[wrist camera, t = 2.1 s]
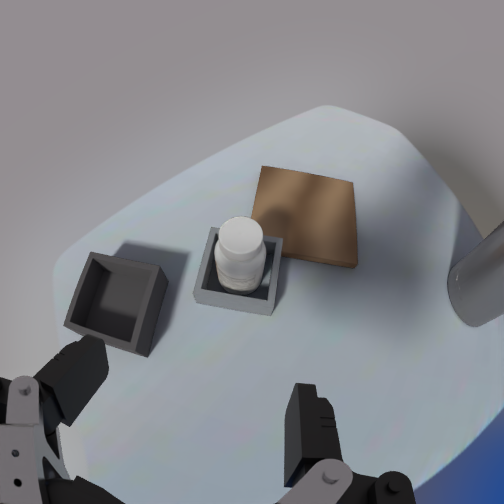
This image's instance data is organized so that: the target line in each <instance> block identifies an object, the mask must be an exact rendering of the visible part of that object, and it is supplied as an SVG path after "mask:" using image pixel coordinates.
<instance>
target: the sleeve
mask: <svg viewBox="0 0 504 504" xmlns="http://www.w3.org/2000/svg"><path fill="white" fill-rule="evenodd" d="M219 230H220V228H215V227H211V229H210V233H209V236H208V240H207V243H206V247H205V250H204V254H203V257H202V261H201V265H200V268H199V272H198V276H197V279H196V283H195V287H194V291H193V295H194V298H195V300H196V303H200V304H205V305H210V306H216V307H221V308H226V309H232V310H238V311H243V312H249V313H255V314H261V315H267V316H271V314H272V311H273V308H274V302H275V295H276V288H277V281H278V273H279V266H280V258H281V250H282V242H283V238H278V237H272V236H265V235H263V242H264V244H265V247H266V254H271V255H273V261H272V268H271V275H270V282H269V288H268V295H267V300H261V299H255V298H249V297H244V296H238V295H232V294H227V293H221V292H216V291H210V290H206V288H207V284H208V280H209V276H210V272H211V268H212V264H213V260H214V256H215V254H214V251H215V246H216V243H217V241H218V240H219Z"/></svg>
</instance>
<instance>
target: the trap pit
mask: <svg viewBox="0 0 504 504" xmlns="http://www.w3.org/2000/svg"><path fill="white" fill-rule="evenodd" d="M167 284H168V280H167V278H166V276H165V274H164V273H163V271H162V269H161V267H160V266H157V265H152V264H147V263H142V262H137V261H132V260H128V259H123V258H118V257H113V256H108V255H104V254H99V253H95V252H90V254H89V257H88V259H87V261H86V264H85V266H84V269H83V271H82V274H81V276H80V279H79V281H78V284H77V287H76V289H75V292H74V295H73V298H72V301H71V304H70V307H69V309H68V313H67V316H66V319H65V322H64V325H63V326H65V327H67V328H68V329H70V330H72V331H74V332H76V333H78V334H80V335H82V336H85V335H86V334H90V335H93V336H95V337H98V338H101V339H103V340H104V342H105V344H107V345H110V346H113V347H115V348H118V349H122V350H125V351H128V352H131V353H134V354H137V355H141V356H144V357H148V354H149V350H150V346H151V342H152V338H153V334H154V330H155V327H156V323H157V319H158V316H159V312H160V308H161V305H162V301H163V298H164V295H165V291H166V288H167Z"/></svg>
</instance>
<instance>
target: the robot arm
mask: <svg viewBox="0 0 504 504" xmlns="http://www.w3.org/2000/svg"><path fill="white" fill-rule="evenodd" d="M448 292H449V297H450V300H451V303H452V306H453V308H454V310H455V312H456V313H457V315H458V316H459V317H460V318H461V320H462V321H463V322H465V323H466V324H468V325H470V326H473V327H478V326H481V325H483V324H485V323H487V322H489V321H491V320H493V319H495V318H497V317H499V316H501V315H503V314H504V221H503V222H502V223H501V224H500V225H499V226H498V227H497V228H496V229H495V230H494V231H493V232H492V233H491V234H490V235H488V236H487V237H486V238H485V239H484V240H483V241H482V242H481V243H480V244H479V245H478V246H477V247H475V248H474V249H473V250H472V251H471V252H470V253H469V254H467V255H466V256H465V257H464V258H463V259H462V260H460V261H459V262H458V263H457V264H456V265H455V266H454V267H453V268H452V269H451V271H450V274H449V277H448ZM108 371H109V365H108V359H107V353H106V347H105V342H104V340H103V339H101V338H98V337H95V336H93V335H90V334H86V335H85V336H84V337H83V338H82V339H81V340H80V341H78V342H77V341H75V342H73V343H71V344H68V345H66V346H65V347H64V348H63V349H62V350H61V351H60V352H59V354H57V355H55V356H54V359H51V360H50V361H49V362H48V363H47V364H46V365H45V366H44V367H43V368H42V369H41V370H40V371H39V372H38V373H37V374H36V375H35V376H34V377H30V376H20V377H17V378H16V379H14V380H13V381H11V380H8V379H5V378H1V377H0V504H125V503H123V502H122V501H120V500H119V499H117V498H116V497H114V496H113V495H112V494H110V493H109V492H107V491H106V490H105V489H103V488H101V487H99V486H97V485H95V484H93V483H91V482H89V481H87V480H85V479H83V478H81V477H79V476H76V478H75V479H74V480H70V477H69V474H68V472H67V470H66V468H65V465H64V460H63V455H62V448H61V441H60V433H59V428H58V425H59V424H60V422H62V423H64V424H65V425H67V426H69V427H70V426H71V425H72V423H73V422H74V421H75V419H76V418H77V417H78V415H79V414H80V413H81V411H82V410H83V408H84V407H85V406H86V404H87V403H88V402H89V400H90V399H91V398H92V396H93V395H94V394H95V393H96V391H97V390H98V389H99V387H100V386H101V385H102V383H103V382H104V381H105V379H106V378H107V375H108ZM284 487H290V488H292V489H291V490H290V491H289V492H288V493H287V494H286V495H284V496H283V497H282V498H281V499H280V500H279V501H278V502H277V503H275V504H416V502H415V497H414V493H413V488H412V484H411V481H410V480H409V478H408V477H407V476H406V475H404V474H403V473H400V472H396V471H390V472H386V473H384V474H382V475H381V476H380V477H379V478H376V477H371V476H365V475H360V474H357V473H355V472H353V471H351V469H350V467H349V466H348V465H347V464H345V463H344V462H343V459H342V455H341V449H340V443H339V437H338V432H337V428H336V421H335V415H334V410H333V407H332V405H331V404H330V403H329V401H328V400H327V398H319V397H317V391H316V386H315V385H314V384H304V383H296V384H295V386H294V389H293V392H292V395H291V398H290V401H289V403H288V406H287V409H286V414H285V456H284Z"/></svg>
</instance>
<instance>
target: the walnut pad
mask: <svg viewBox="0 0 504 504" xmlns="http://www.w3.org/2000/svg"><path fill="white" fill-rule="evenodd" d="M251 219H253V220H255V221H256V222H257V223H258V224H259V225H260V226H261V228H262V231H263V235H265V236H272V237H278V238H283V242H282V250H281V256H283V257H289V258H295V259H301V260H307V261H313V262H319V263H326V264H332V265H338V266H344V267H350V268H355V267H356V266H357V264H358V256H357V231H356V215H355V202H354V190H353V183H352V182H348V181H343V180H338V179H334V178H329V177H324V176H319V175H314V174H309V173H303V172H298V171H292V170H286V169H280V168H274V167H268V166H262V168H261V173H260V177H259V182H258V187H257V192H256V196H255V201H254V206H253V211H252V216H251Z"/></svg>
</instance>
